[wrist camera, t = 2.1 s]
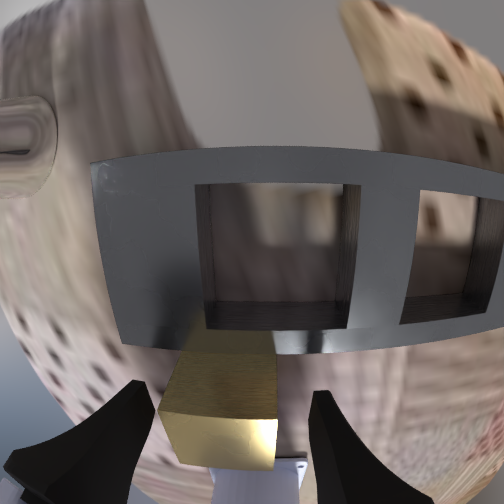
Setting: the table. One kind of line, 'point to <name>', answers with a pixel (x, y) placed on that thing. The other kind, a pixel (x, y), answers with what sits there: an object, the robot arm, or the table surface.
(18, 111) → the beer glass
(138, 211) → the rail
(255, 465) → the block
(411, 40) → the table surface
